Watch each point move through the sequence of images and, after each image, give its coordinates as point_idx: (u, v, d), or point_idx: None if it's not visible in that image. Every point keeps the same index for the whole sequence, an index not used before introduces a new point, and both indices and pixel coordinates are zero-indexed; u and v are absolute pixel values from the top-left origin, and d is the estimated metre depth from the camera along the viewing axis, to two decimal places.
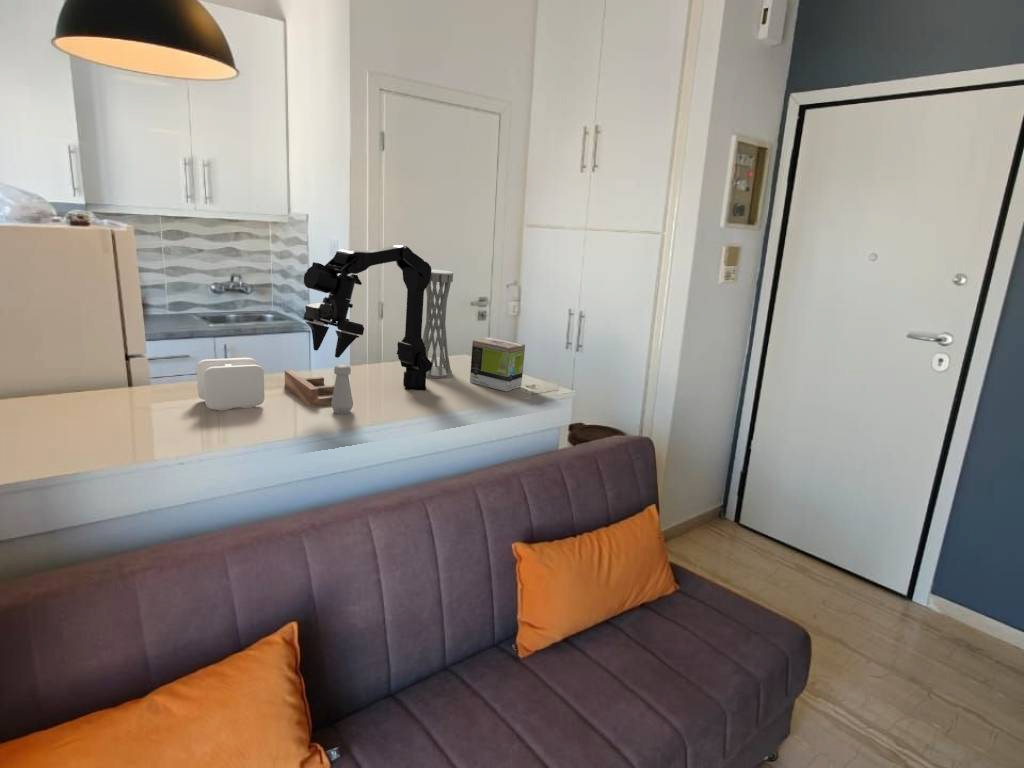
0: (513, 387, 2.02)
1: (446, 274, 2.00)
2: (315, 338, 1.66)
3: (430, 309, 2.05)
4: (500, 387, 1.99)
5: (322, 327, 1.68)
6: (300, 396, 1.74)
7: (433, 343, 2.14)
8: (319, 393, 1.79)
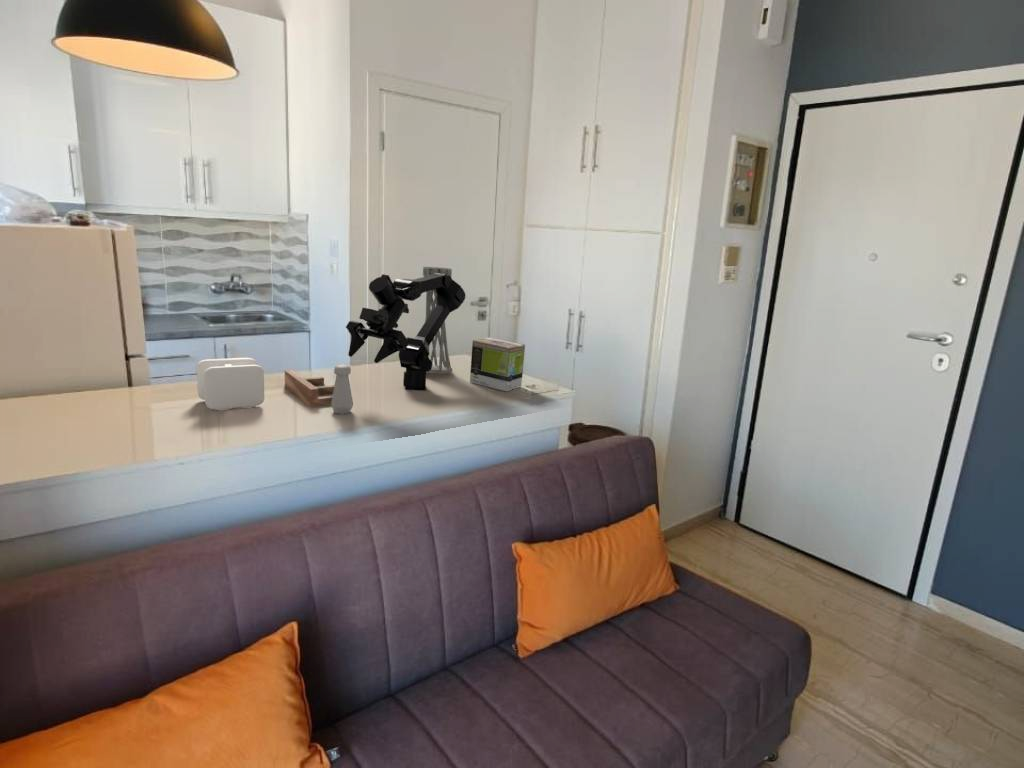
0: (513, 387, 2.02)
1: (445, 269, 2.04)
2: (353, 345, 1.72)
3: (429, 304, 2.07)
4: (500, 387, 1.99)
5: (361, 339, 1.75)
6: (300, 396, 1.74)
7: (433, 341, 2.15)
8: (319, 393, 1.79)
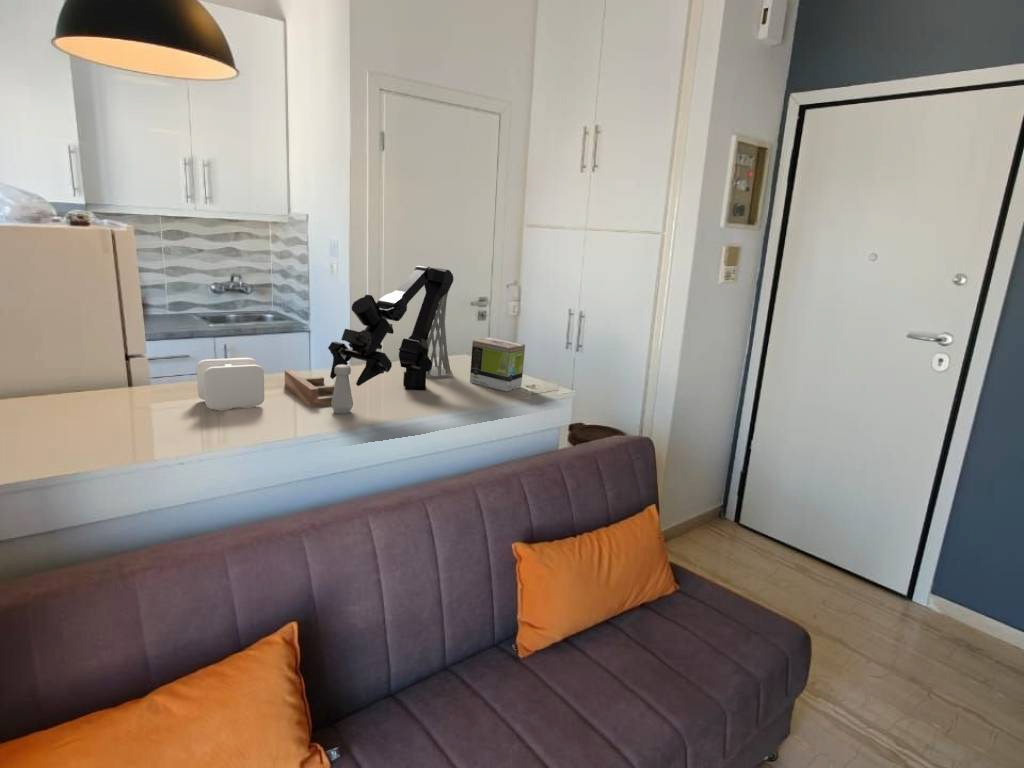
0: (513, 387, 2.02)
1: None
2: None
3: None
4: (500, 387, 1.99)
5: (343, 360, 1.71)
6: (300, 396, 1.74)
7: (433, 343, 2.14)
8: (319, 393, 1.79)
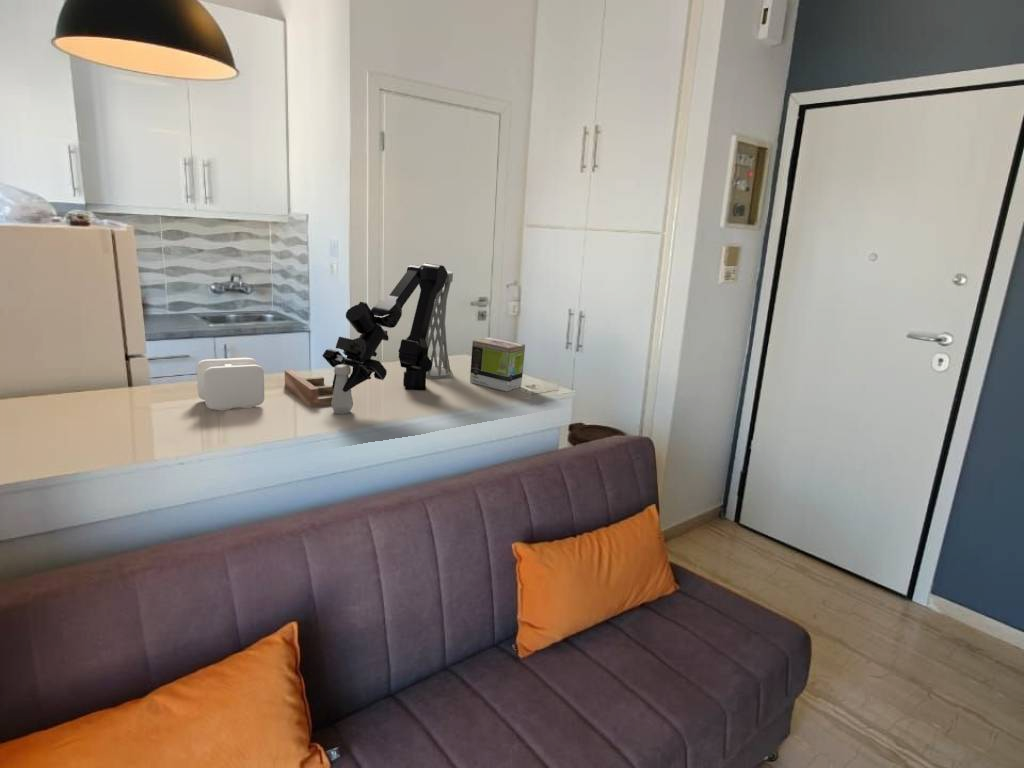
0: (513, 387, 2.02)
1: None
2: None
3: None
4: (500, 387, 1.99)
5: None
6: (300, 396, 1.74)
7: (433, 343, 2.14)
8: (319, 393, 1.79)
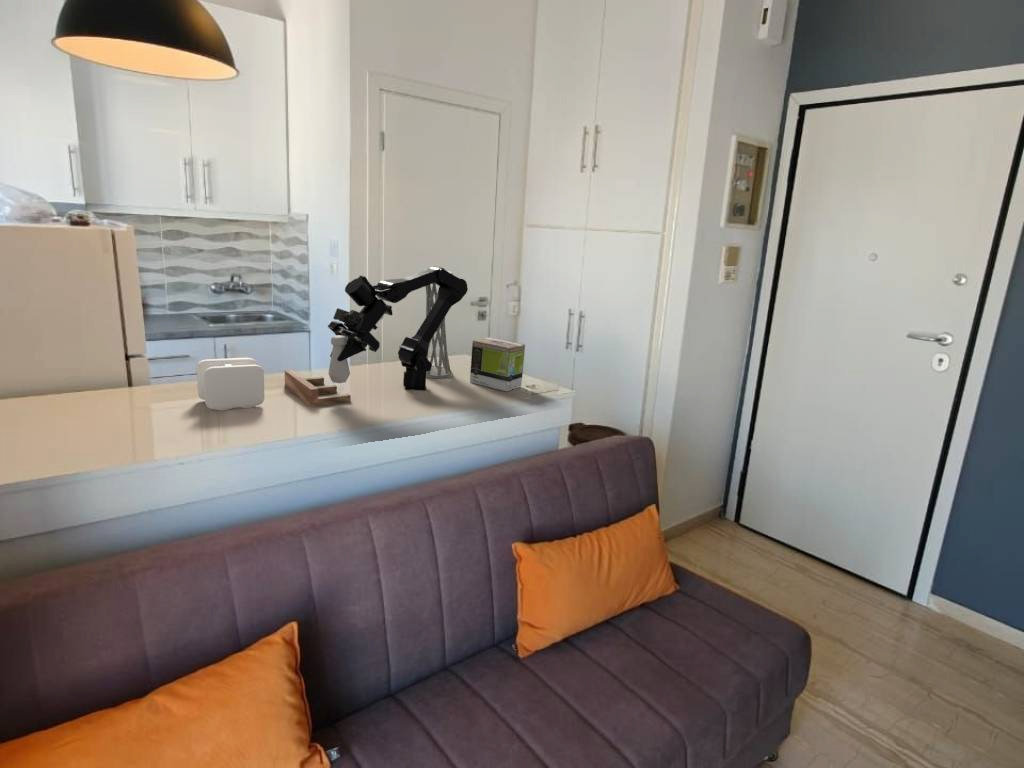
0: (513, 387, 2.02)
1: None
2: None
3: (429, 309, 2.05)
4: (500, 387, 1.99)
5: None
6: (300, 396, 1.74)
7: (433, 343, 2.14)
8: (319, 393, 1.79)
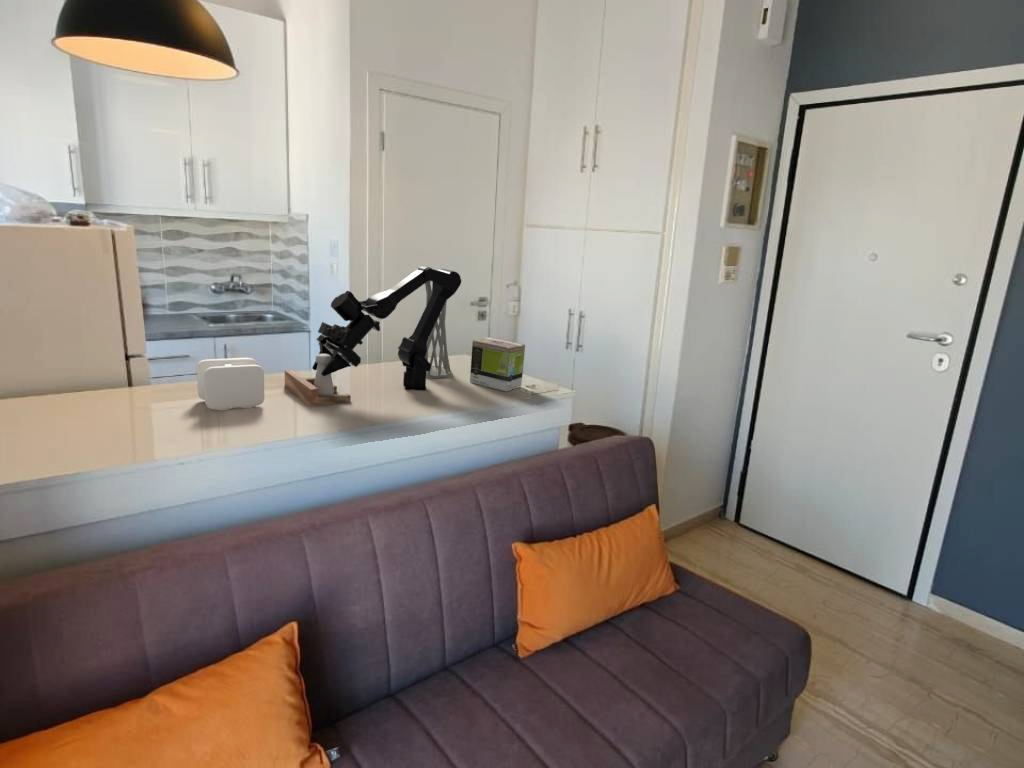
0: (513, 387, 2.02)
1: None
2: None
3: None
4: (500, 387, 1.99)
5: (330, 354, 1.78)
6: (300, 396, 1.74)
7: (433, 343, 2.14)
8: None
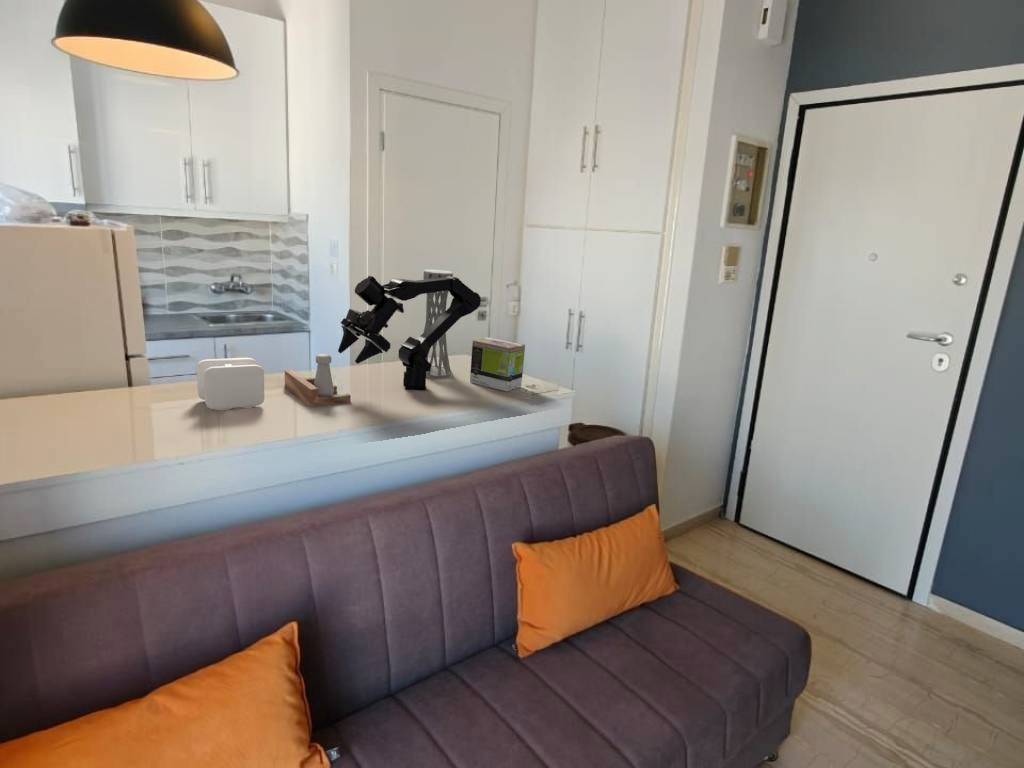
0: (513, 387, 2.02)
1: (445, 274, 2.00)
2: (343, 342, 1.80)
3: (429, 309, 2.05)
4: (500, 387, 1.99)
5: (353, 336, 1.82)
6: (300, 396, 1.74)
7: None
8: None
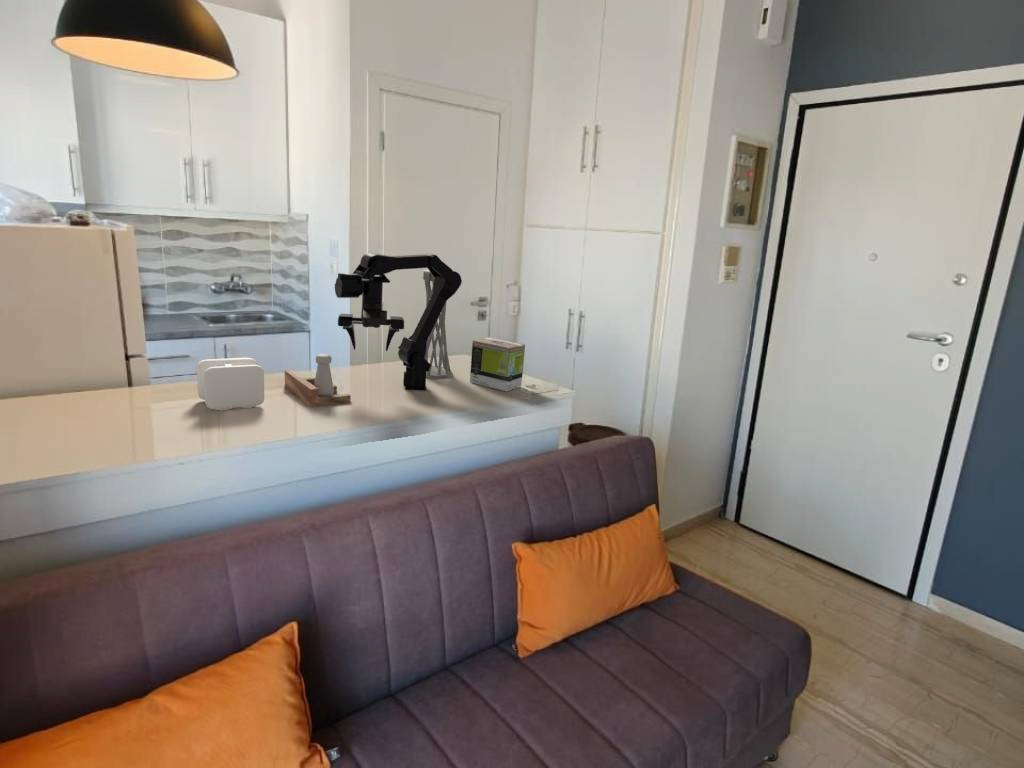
0: (513, 387, 2.02)
1: None
2: (354, 339, 1.80)
3: None
4: (500, 387, 1.99)
5: (353, 327, 1.80)
6: (300, 396, 1.74)
7: (433, 343, 2.14)
8: None
